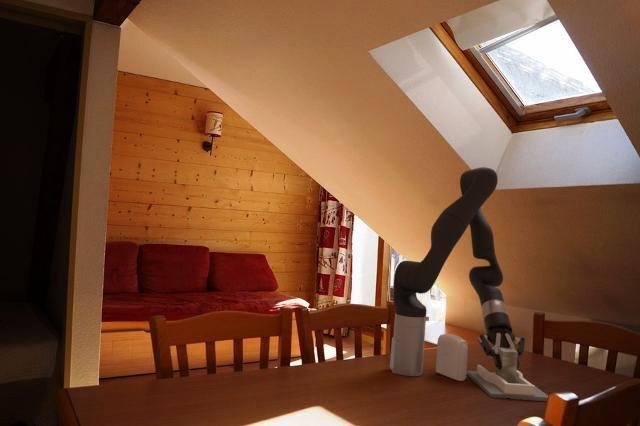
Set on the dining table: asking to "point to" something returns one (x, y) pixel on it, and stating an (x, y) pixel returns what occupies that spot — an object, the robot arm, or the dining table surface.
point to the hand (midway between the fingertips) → (508, 368)
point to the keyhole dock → (506, 386)
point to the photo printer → (452, 356)
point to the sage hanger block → (508, 365)
